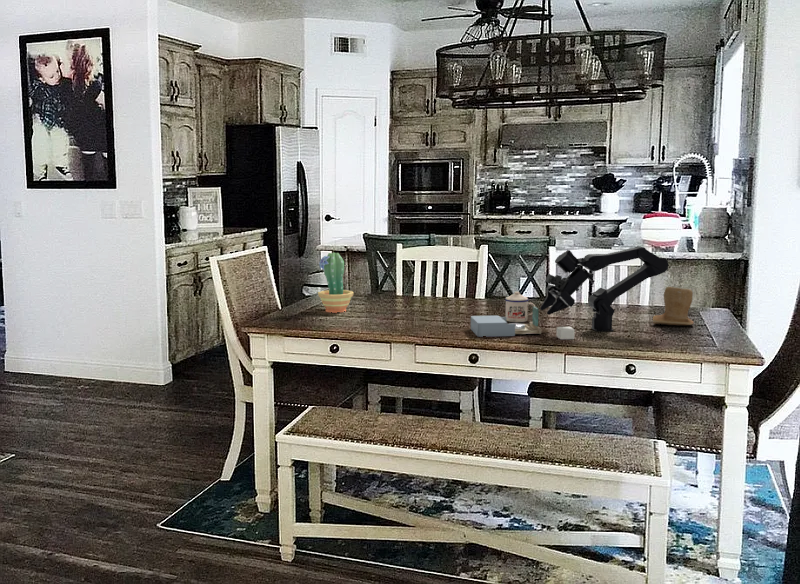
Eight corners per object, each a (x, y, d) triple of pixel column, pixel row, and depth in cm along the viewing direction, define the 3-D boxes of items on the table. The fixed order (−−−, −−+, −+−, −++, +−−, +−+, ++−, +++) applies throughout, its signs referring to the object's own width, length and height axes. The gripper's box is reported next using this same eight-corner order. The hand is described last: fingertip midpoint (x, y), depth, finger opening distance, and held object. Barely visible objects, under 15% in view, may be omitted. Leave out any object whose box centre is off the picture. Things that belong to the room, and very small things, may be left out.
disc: (522, 327, 294) (522, 322, 294) (527, 330, 287) (527, 326, 287) (504, 327, 293) (504, 323, 293) (508, 331, 286) (508, 326, 286)
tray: (531, 326, 297) (532, 304, 296) (540, 333, 284) (541, 310, 283) (496, 327, 296) (496, 305, 295) (504, 334, 283) (504, 311, 282)
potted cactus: (321, 307, 344) (320, 250, 340) (356, 308, 342) (355, 251, 338) (314, 313, 328) (313, 254, 325) (350, 314, 327) (350, 254, 323)
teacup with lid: (504, 322, 309) (505, 293, 307) (504, 318, 318) (505, 289, 316) (535, 323, 307) (536, 293, 306) (534, 318, 316) (535, 290, 314)
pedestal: (569, 336, 283) (570, 326, 282) (574, 339, 278) (574, 329, 277) (556, 336, 282) (556, 326, 282) (560, 339, 277) (560, 329, 277)
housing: (505, 328, 297) (506, 315, 296) (514, 335, 283) (515, 322, 282) (470, 329, 296) (470, 316, 295) (477, 336, 282) (478, 323, 281)
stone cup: (692, 322, 308) (694, 285, 305) (694, 328, 296) (696, 289, 294) (651, 320, 312) (653, 283, 310) (652, 326, 301) (654, 287, 298)
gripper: (551, 263, 297) (523, 293, 298) (566, 269, 279) (536, 301, 280) (571, 283, 299) (543, 312, 300) (587, 290, 281) (557, 321, 281)
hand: (544, 311), depth 290 cm, fingers open, 9 cm apart
